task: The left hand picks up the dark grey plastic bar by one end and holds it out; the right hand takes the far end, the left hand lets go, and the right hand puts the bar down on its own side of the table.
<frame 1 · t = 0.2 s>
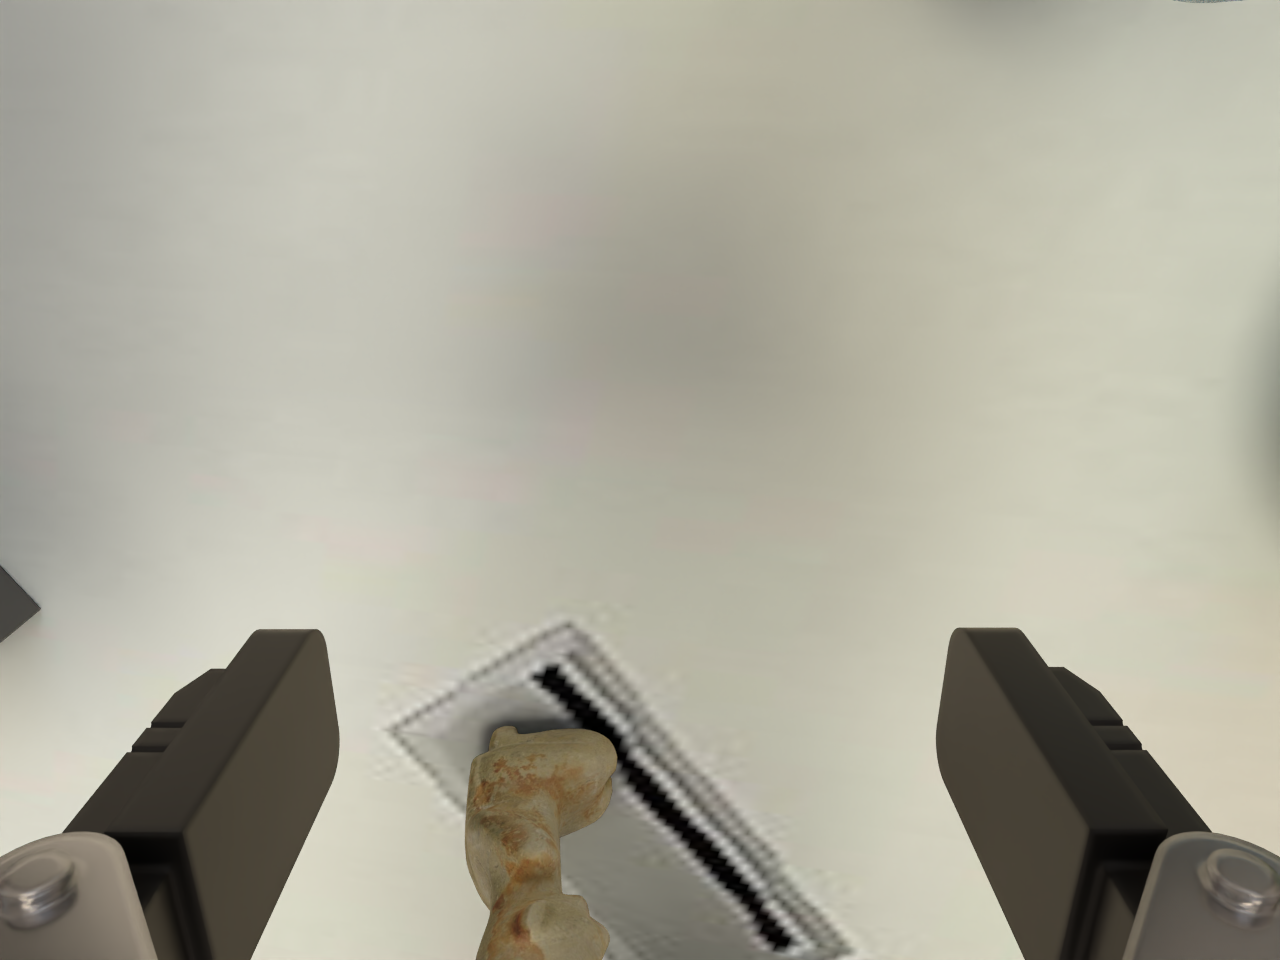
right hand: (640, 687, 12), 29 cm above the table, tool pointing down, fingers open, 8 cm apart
sculpture: (547, 750, 48), on the table
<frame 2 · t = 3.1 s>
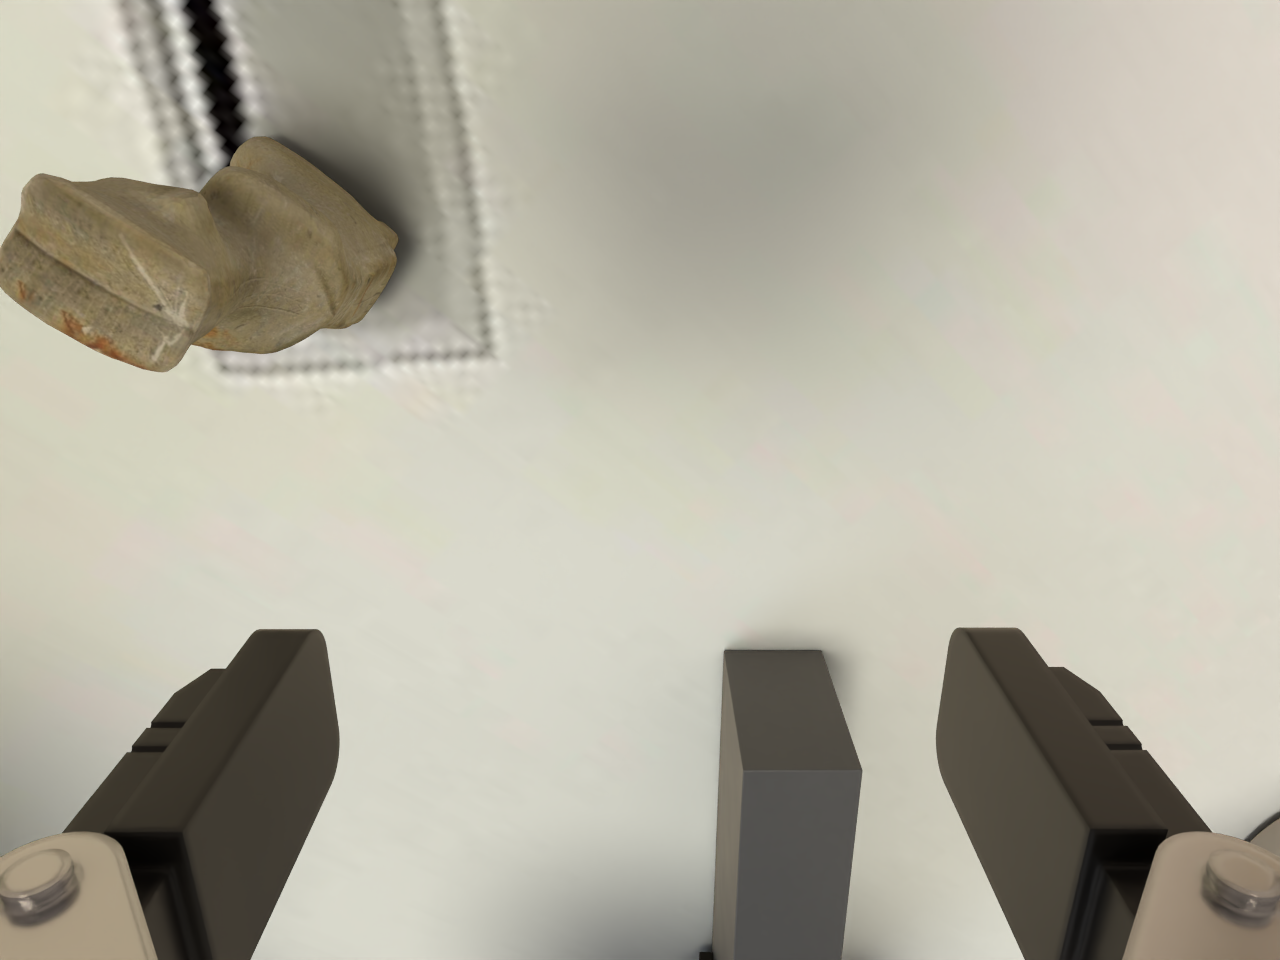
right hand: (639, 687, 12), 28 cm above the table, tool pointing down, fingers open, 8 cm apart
bust sculpture: (1264, 888, 49), on the table
sculpture: (322, 227, 37), on the table
bar: (760, 847, 48), on the table, touching left hand
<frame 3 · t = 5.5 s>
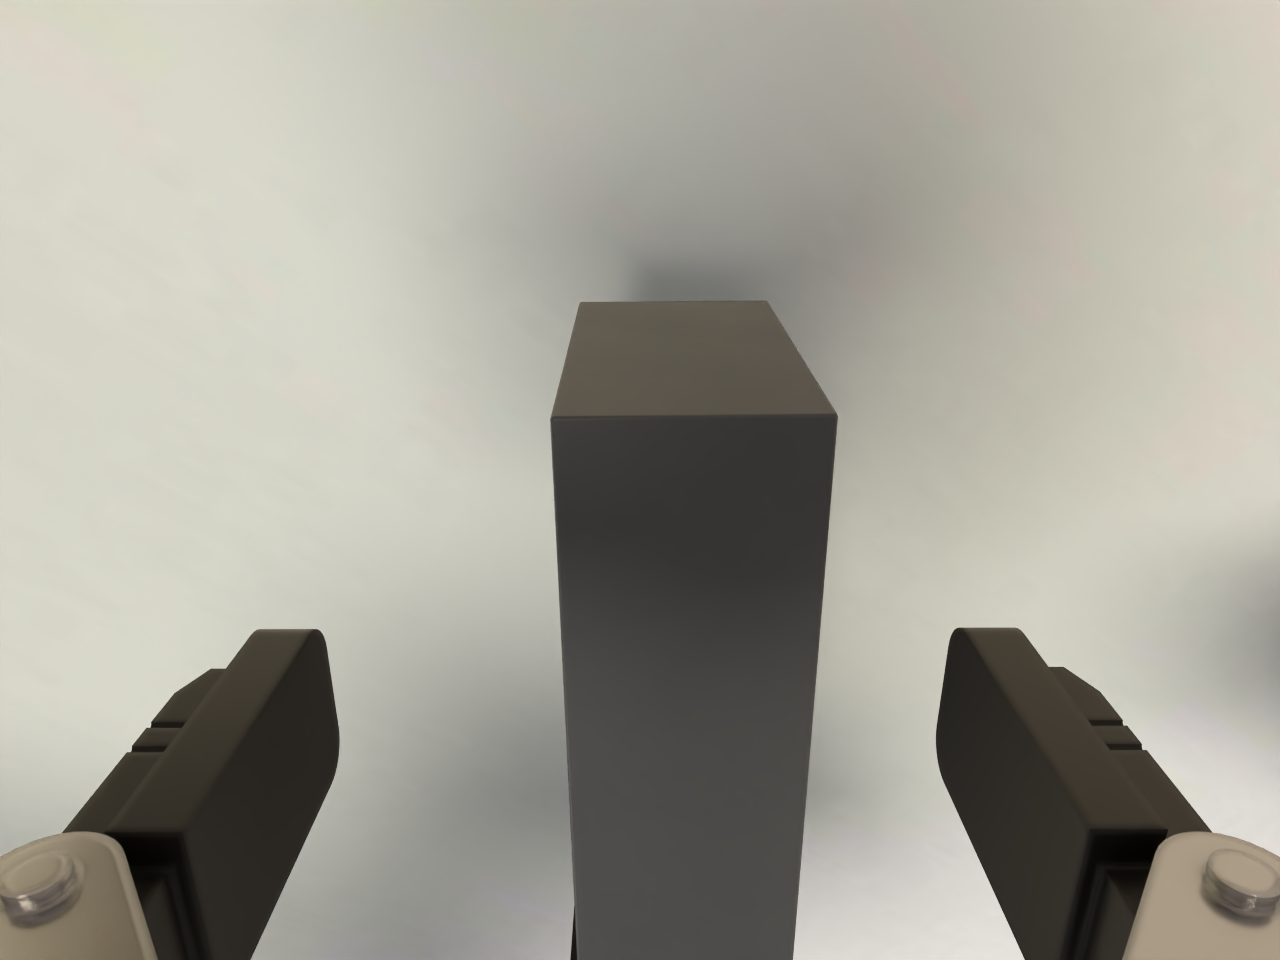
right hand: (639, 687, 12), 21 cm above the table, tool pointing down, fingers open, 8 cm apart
bar: (670, 701, 28), point 8 cm above the table, touching left hand
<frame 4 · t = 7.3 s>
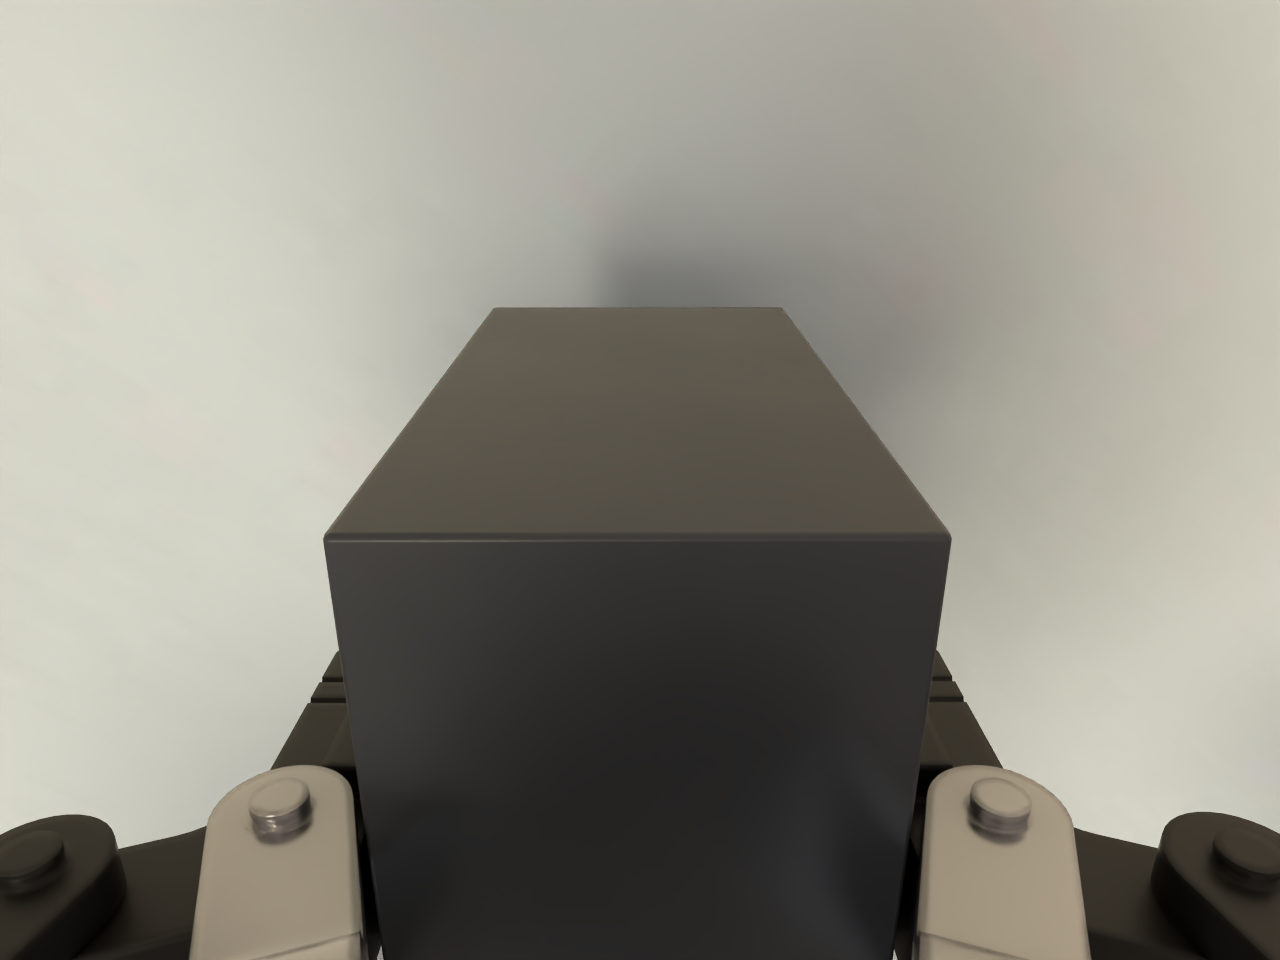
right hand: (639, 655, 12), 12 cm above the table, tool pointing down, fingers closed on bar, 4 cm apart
bar: (638, 881, 19), point 8 cm above the table, touching right hand, left hand
when the left hand's fingers open (9 cm above the table, at t = 8.0 s): bar stays where it is, held by the right hand.
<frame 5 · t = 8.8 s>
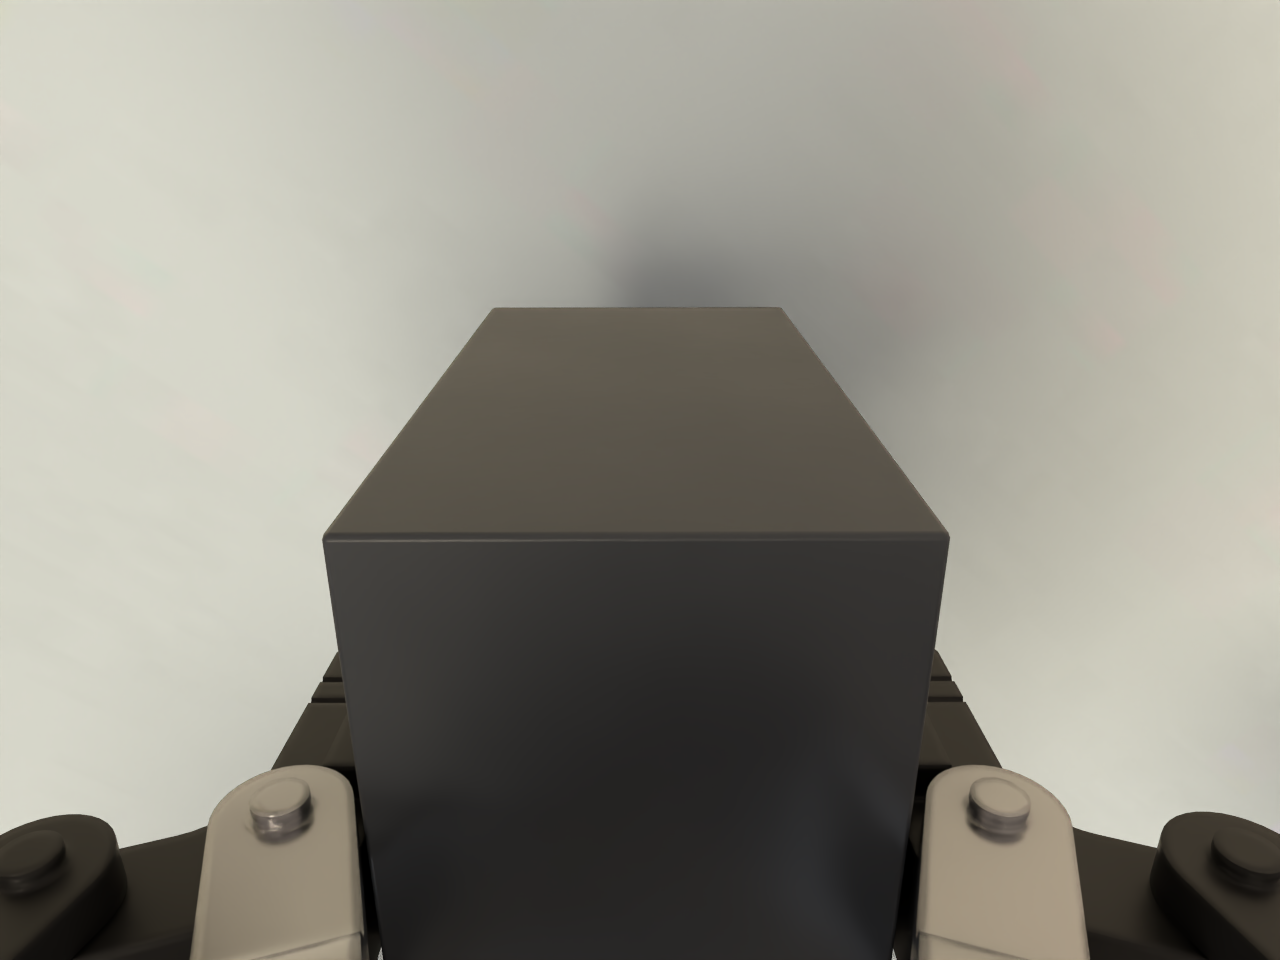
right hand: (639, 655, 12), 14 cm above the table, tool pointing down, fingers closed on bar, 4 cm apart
bar: (638, 881, 19), point 9 cm above the table, touching right hand
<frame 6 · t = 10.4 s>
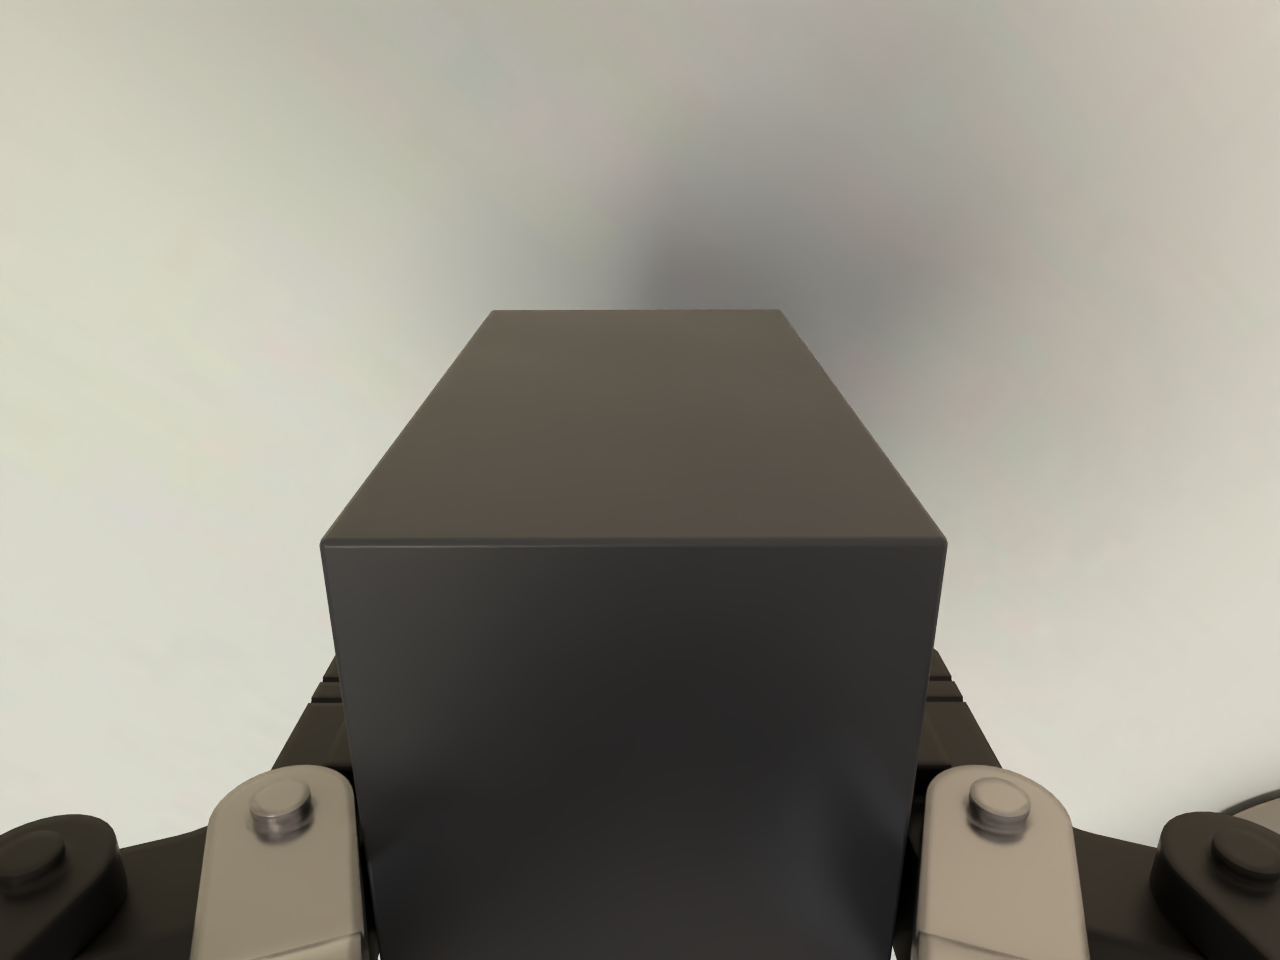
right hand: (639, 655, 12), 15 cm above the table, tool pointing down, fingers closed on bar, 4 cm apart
bust sculpture: (1187, 942, 34), on the table
bar: (637, 883, 19), point 11 cm above the table, touching right hand
when the right hand's fingers open (5 cm above the table, at t = 13.8 s): bar drops 1 cm, on the table.
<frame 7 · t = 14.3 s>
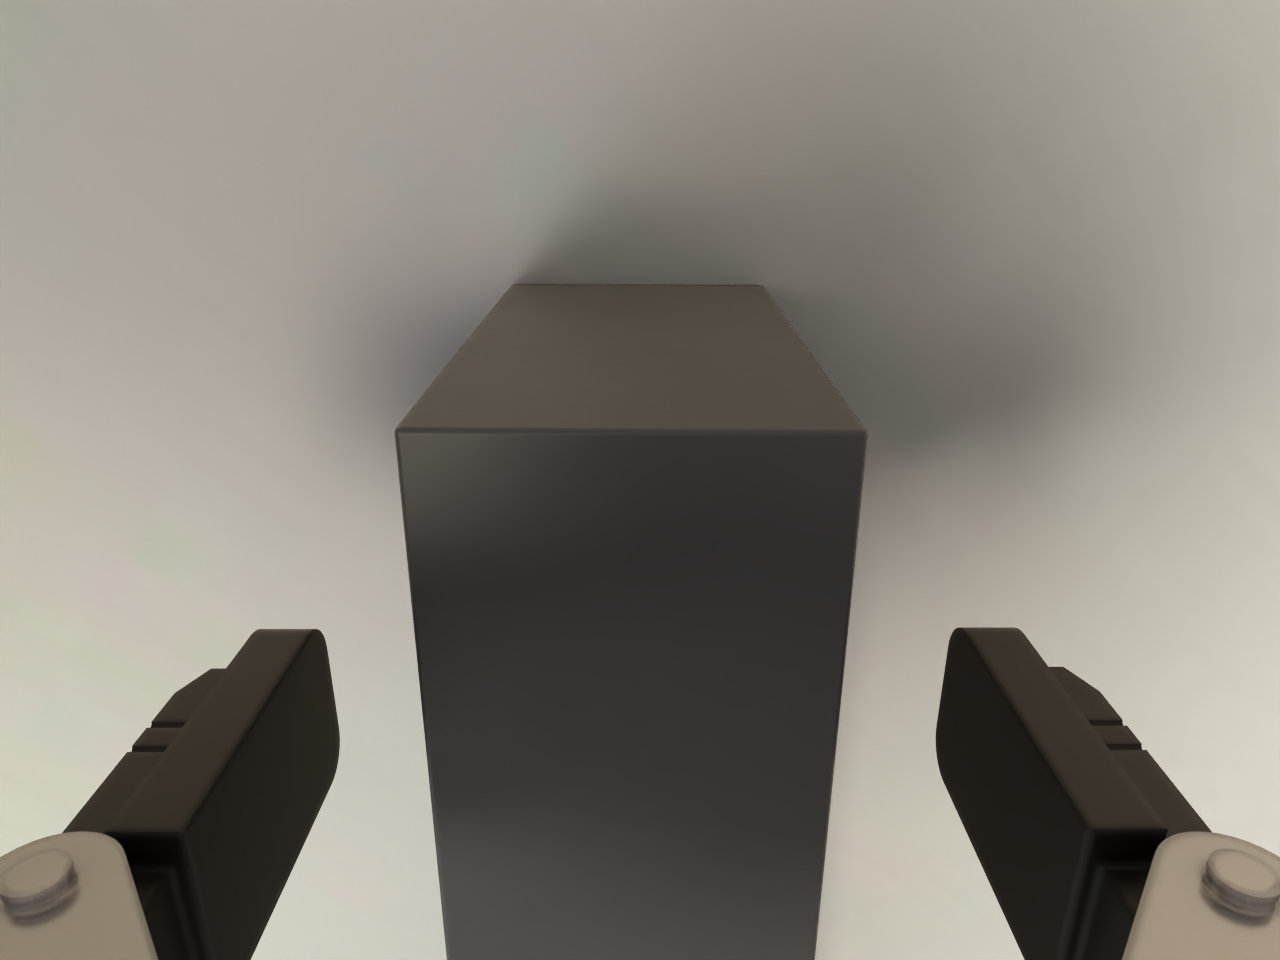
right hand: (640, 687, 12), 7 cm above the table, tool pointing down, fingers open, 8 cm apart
bar: (635, 806, 22), on the table
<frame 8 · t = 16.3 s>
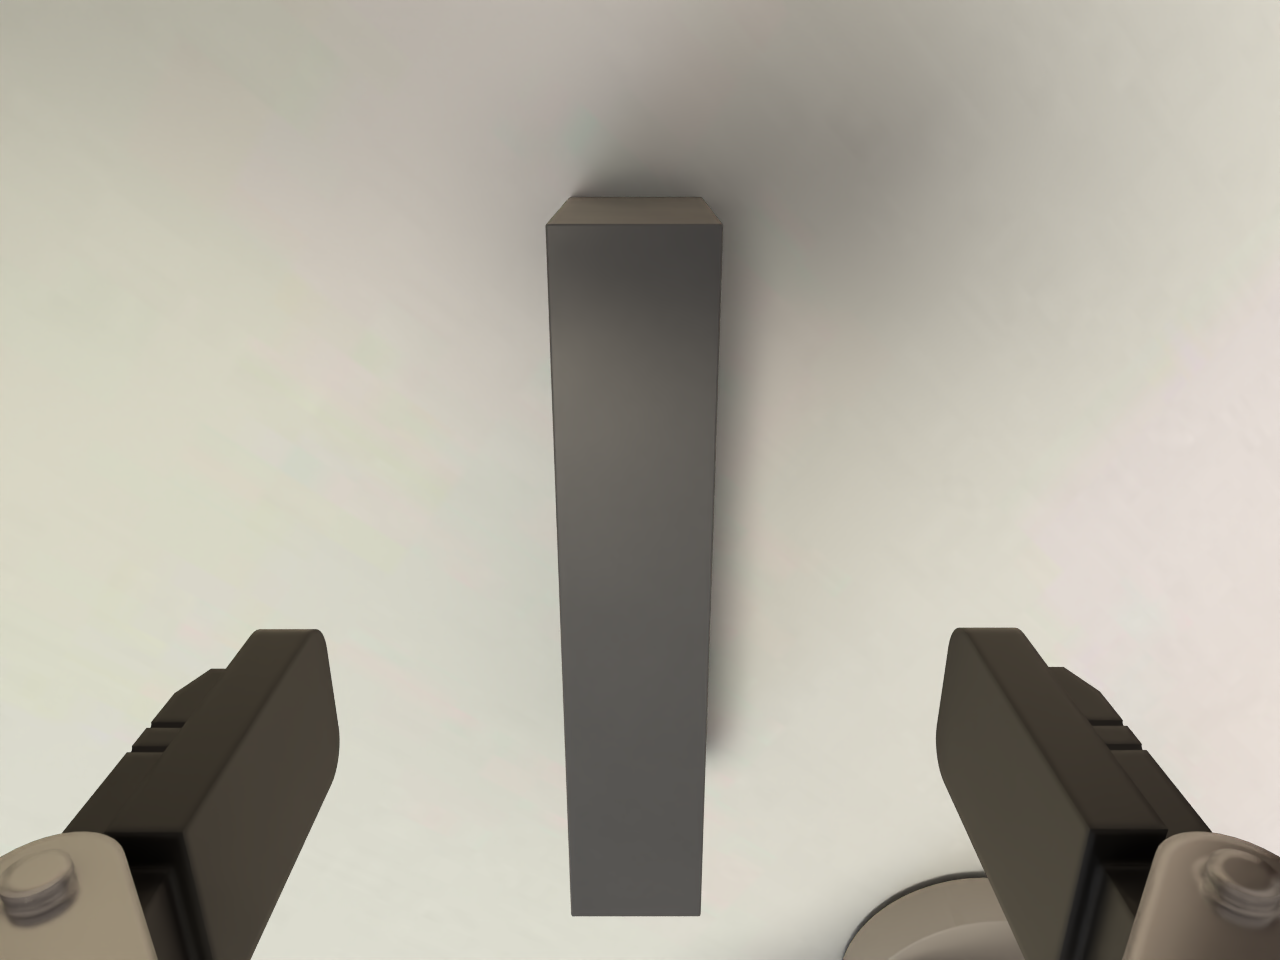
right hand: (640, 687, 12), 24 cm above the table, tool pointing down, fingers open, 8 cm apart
bar: (636, 513, 37), on the table
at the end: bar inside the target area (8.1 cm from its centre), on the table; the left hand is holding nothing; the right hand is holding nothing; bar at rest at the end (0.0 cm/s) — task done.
